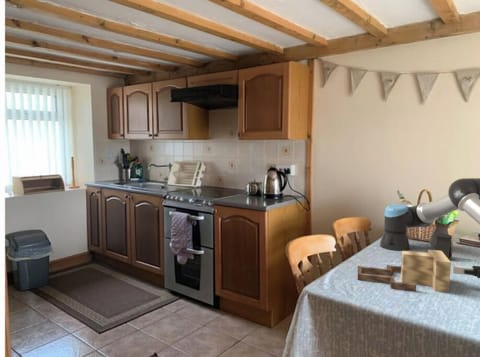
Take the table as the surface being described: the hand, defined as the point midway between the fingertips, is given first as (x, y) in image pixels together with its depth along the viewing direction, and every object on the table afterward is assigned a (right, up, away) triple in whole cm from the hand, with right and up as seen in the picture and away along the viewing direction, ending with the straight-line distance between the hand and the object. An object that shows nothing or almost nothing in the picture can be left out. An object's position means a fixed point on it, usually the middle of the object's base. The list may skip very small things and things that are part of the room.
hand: (454, 269), depth 146 cm
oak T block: (-11, -6, +4) cm, 13 cm away
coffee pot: (+28, -2, +61) cm, 67 cm away
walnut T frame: (-24, -6, +8) cm, 26 cm away
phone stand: (+17, -4, +38) cm, 42 cm away
